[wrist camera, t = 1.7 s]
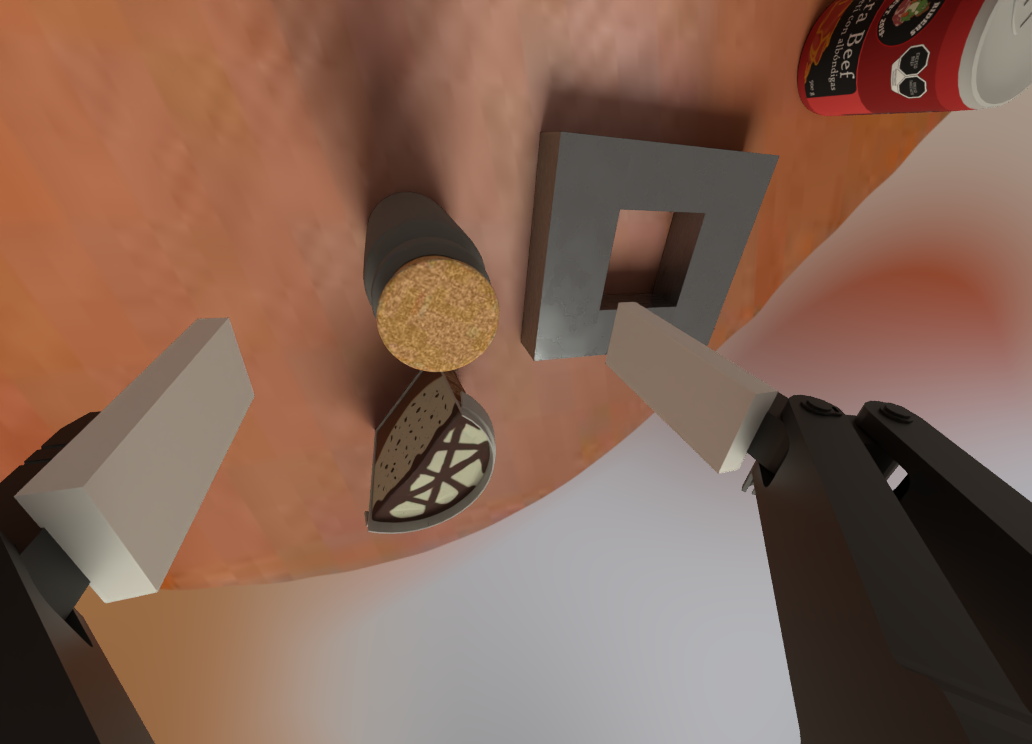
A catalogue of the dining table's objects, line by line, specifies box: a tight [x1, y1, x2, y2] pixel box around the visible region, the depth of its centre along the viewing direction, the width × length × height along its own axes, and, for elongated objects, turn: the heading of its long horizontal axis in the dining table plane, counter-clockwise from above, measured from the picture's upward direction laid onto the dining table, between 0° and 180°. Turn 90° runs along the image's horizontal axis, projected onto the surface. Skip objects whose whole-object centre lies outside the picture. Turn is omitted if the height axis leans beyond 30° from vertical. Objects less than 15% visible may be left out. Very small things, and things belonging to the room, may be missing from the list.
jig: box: [521, 132, 779, 361], centre depth 31 cm, size 16×18×4 cm
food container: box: [364, 370, 496, 534], centre depth 30 cm, size 12×6×10 cm, turn 139°
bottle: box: [363, 192, 499, 372], centre depth 20 cm, size 6×6×15 cm
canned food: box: [798, 0, 1032, 116], centre depth 25 cm, size 8×8×11 cm
